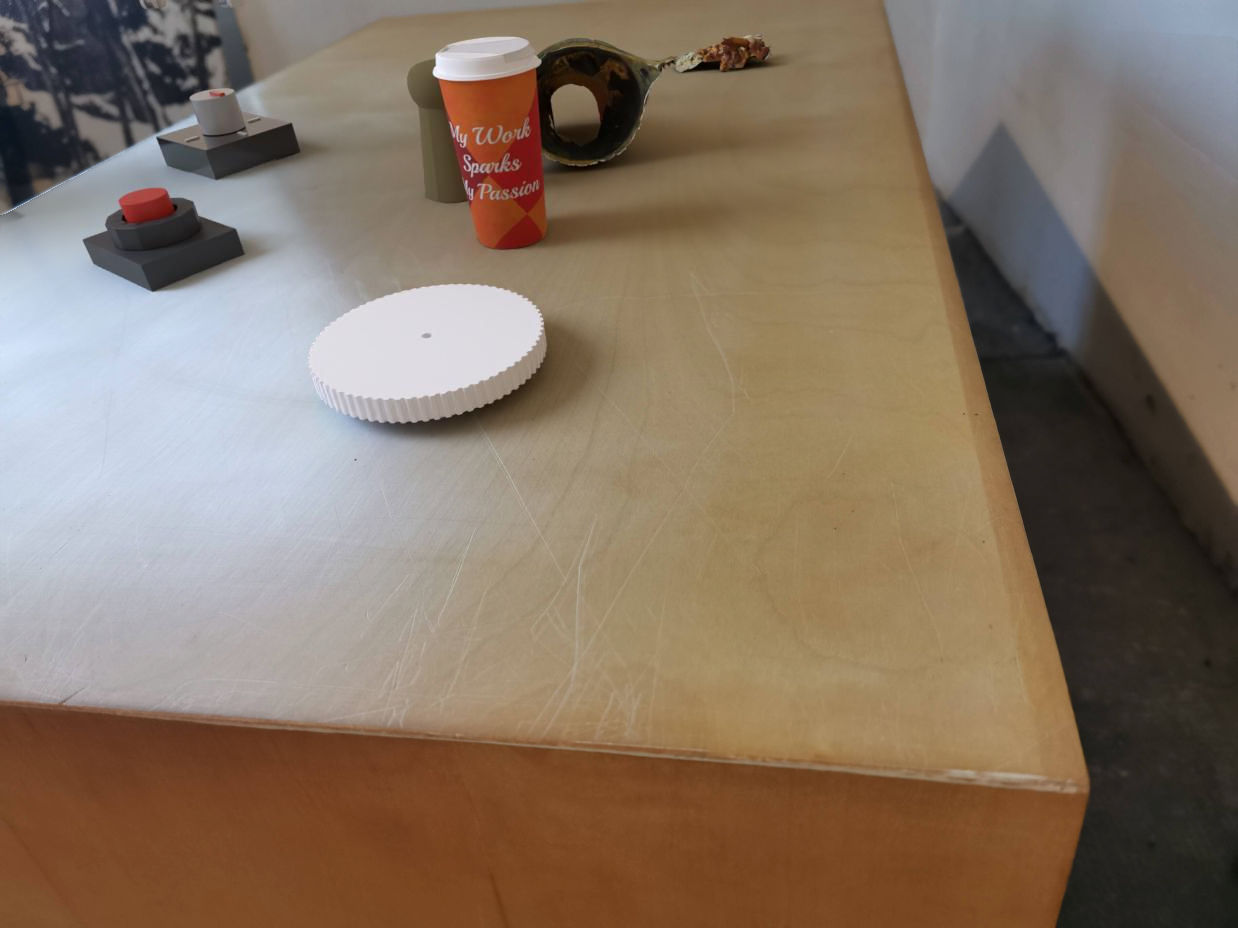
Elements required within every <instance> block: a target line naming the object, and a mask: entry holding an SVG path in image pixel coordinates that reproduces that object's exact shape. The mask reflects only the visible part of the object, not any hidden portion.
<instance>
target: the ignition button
mask: <svg viewBox="0 0 1238 928" xmlns="http://www.w3.org/2000/svg"><path fill="white" fill-rule="evenodd" d="M170 198H171V196H170V194H169V191H168V190H167V189H166V188H162V187H148V188H147V187H146V188H142V189H141V188H140V189H137V190H133V191H131V192H128V193H126V194H124V195H122V196H121V197H120V198H119V199H118V205H119V207H120V209H122V211H123V214H124V216H125V218H126V221H127V223H141V222H147V221H152V220H156V219H159V218H162V217H165V216H168V215H170V214H172V213H173V212H175V209H174V207H173V204H172V202H171V199H170Z"/></svg>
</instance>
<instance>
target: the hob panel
mask: <svg viewBox="0 0 1238 928" xmlns="http://www.w3.org/2000/svg"><path fill="white" fill-rule="evenodd" d="M241 112H242V115H243V119H244V122H245V127H244V128H242V129H241V130H238V131H236V132H232V133H228V134H223V135H204V134H202V132H201V129H200V126H199V124H194V125H190V126H188V127H187V126H186V127H183V128H180V129H176V130H174V131H170V132H167V133H163V134H160V135H157V136H155V139H156V141H157V143H158V146H159V148H160V151H161V154H162V156H163V159H164V162H165V164H166V166H168V167H171V168H174V169H177V170H181V171H184V172H188V173H191V174H194V175H198V176H201V177H205V178H208V179H211V180H214V181H218V180H220V179H224V178H226V177H229V176H232V175H235V174H238V173H240V172H243V171H246V170H249V169H253V168H256V167H258V166H261V165H264V164H267V163H270V162H273V161H276V160H279V159H282V158H285V157H288V156H291V155H294V154H296V153H301V149H300V145H299V142H298V139H297V134H296V131H295V128H294V126H293V122H291V121H286V120H281V119H276V118H272V117H268V116H263V115H258V114H254V113H249V112H245V111H241Z"/></svg>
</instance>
